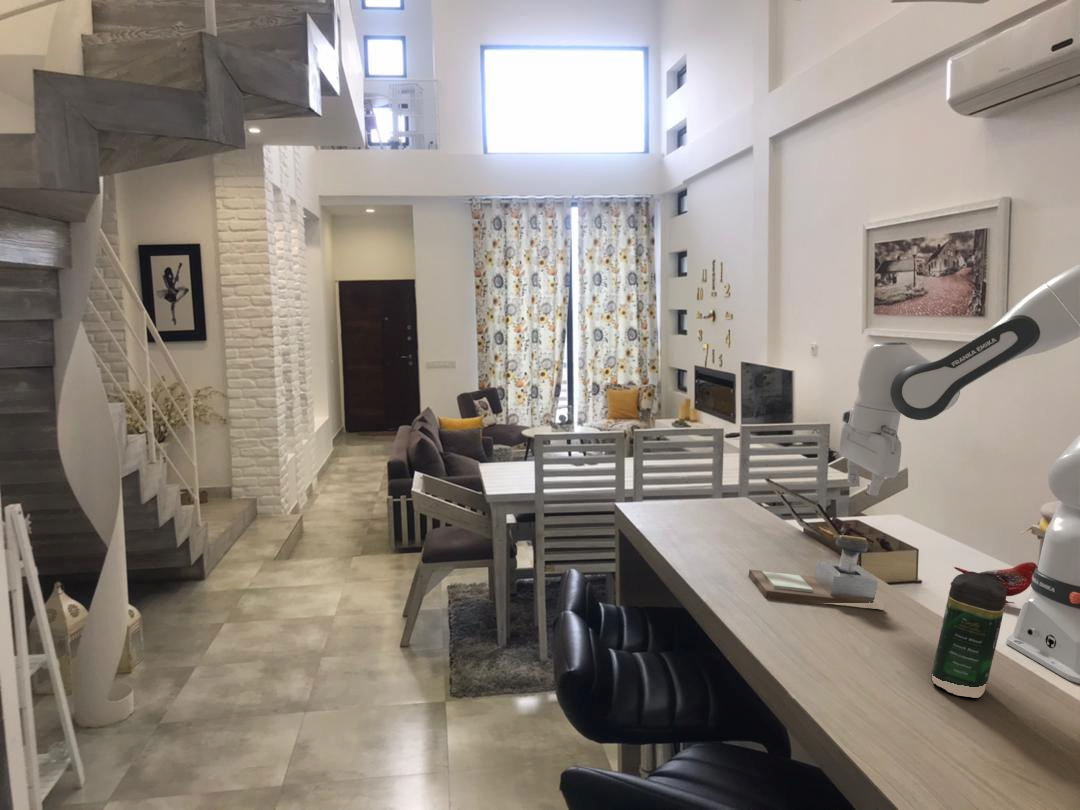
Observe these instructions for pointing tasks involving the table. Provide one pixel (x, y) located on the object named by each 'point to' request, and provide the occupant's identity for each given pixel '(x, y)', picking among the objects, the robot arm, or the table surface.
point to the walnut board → (796, 588)
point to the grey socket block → (845, 581)
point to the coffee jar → (970, 630)
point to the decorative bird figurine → (1012, 577)
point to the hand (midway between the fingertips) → (861, 488)
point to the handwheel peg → (850, 552)
